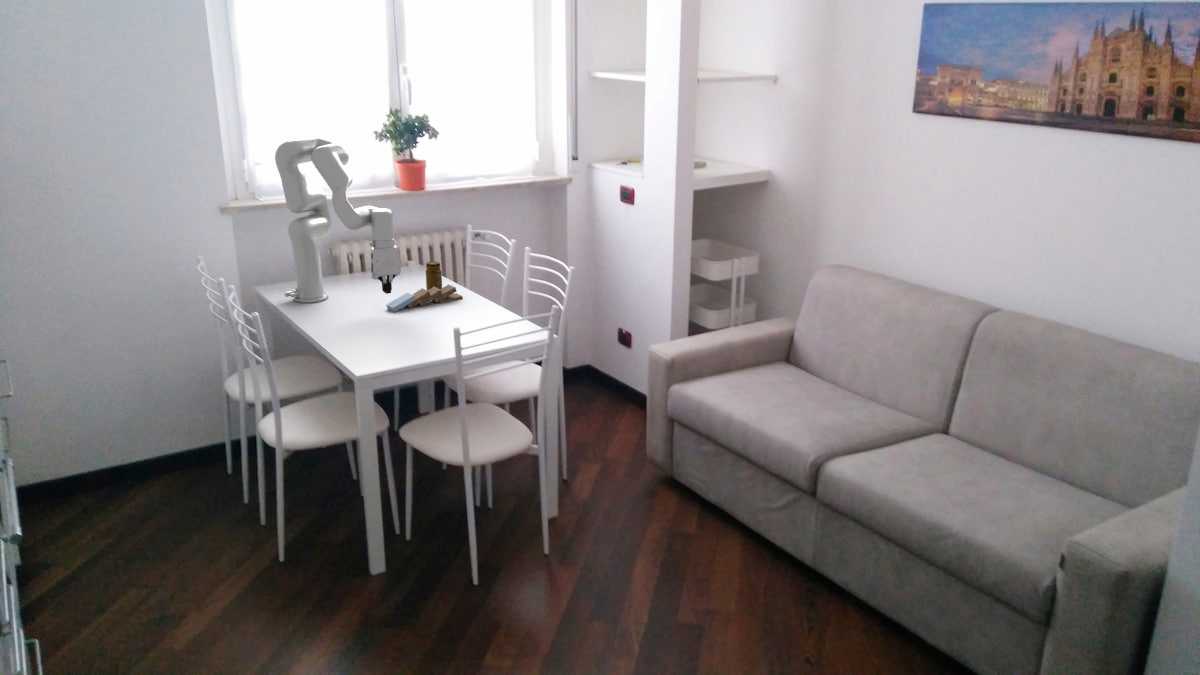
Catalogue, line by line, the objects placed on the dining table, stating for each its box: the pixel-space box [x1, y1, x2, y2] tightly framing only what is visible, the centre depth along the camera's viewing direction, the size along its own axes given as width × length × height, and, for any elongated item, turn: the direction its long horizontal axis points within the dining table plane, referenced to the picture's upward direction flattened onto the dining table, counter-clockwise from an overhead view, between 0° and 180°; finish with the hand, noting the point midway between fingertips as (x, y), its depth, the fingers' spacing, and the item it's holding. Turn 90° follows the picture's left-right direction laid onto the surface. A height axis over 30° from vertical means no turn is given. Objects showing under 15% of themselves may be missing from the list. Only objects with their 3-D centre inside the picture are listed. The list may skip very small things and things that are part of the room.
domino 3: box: [416, 287, 442, 308], centre depth 346 cm, size 2×5×10 cm
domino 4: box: [430, 284, 457, 304], centre depth 350 cm, size 2×5×10 cm
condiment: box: [425, 261, 443, 291], centre depth 358 cm, size 7×8×12 cm
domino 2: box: [405, 288, 430, 309], centre depth 344 cm, size 2×5×10 cm
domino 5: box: [438, 292, 464, 304], centre depth 352 cm, size 2×5×10 cm
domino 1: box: [386, 292, 415, 313], centre depth 340 cm, size 2×5×10 cm
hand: (387, 292), depth 335 cm, fingers closed
